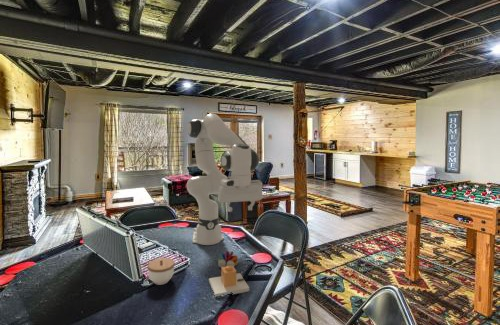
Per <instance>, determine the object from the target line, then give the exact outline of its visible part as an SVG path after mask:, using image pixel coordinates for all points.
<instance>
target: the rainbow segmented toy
mask: <svg viewBox="0 0 500 325" xmlns="http://www.w3.org/2000/svg"><path fill="white" fill-rule="evenodd" d="M233 254H234V251H231V252H229V251H228V250H225V251H224V252H221V253H219V257H220V258H218V259H217V264H218V267H219V268H221V267H226V266H233V267H234V268H235V266H237V265H238V263H239V262H238V261H239V260H238V256H237V255H233Z"/></svg>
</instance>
